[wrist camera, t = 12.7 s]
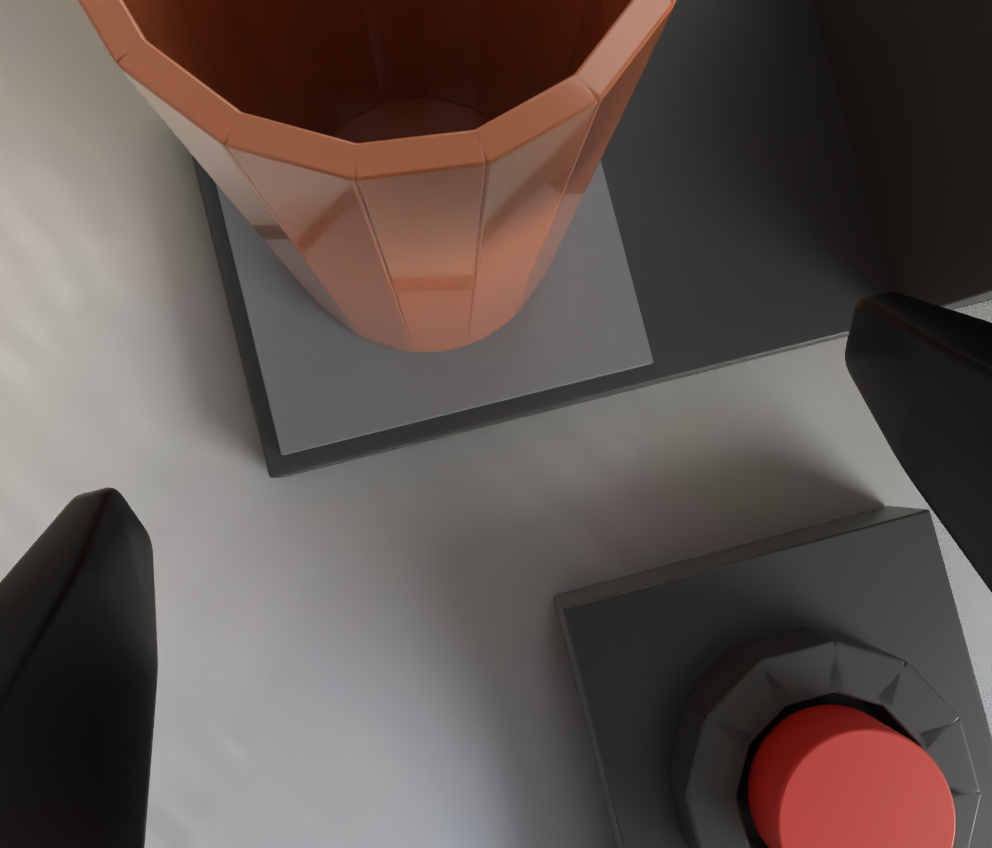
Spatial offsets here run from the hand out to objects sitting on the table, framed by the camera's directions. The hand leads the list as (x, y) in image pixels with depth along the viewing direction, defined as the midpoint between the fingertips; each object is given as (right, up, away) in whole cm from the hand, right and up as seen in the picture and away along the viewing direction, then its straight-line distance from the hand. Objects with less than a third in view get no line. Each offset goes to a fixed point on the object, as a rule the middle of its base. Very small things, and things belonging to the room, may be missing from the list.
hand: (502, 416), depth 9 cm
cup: (-2, +5, +11) cm, 13 cm away
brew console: (+8, -9, +12) cm, 17 cm away
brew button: (+8, -9, +9) cm, 15 cm away
